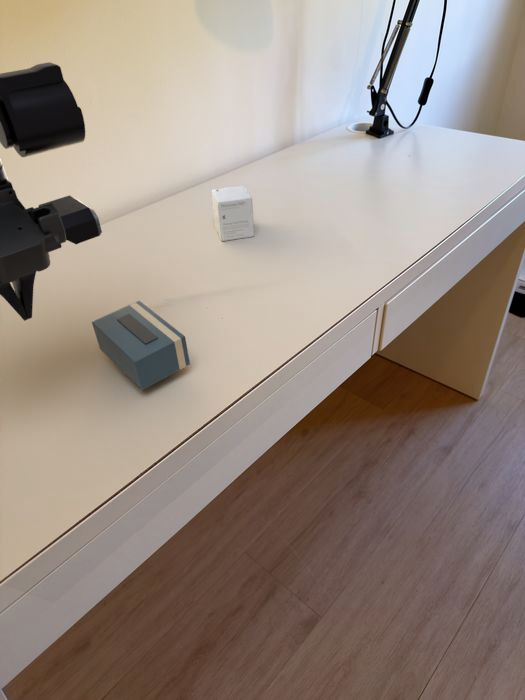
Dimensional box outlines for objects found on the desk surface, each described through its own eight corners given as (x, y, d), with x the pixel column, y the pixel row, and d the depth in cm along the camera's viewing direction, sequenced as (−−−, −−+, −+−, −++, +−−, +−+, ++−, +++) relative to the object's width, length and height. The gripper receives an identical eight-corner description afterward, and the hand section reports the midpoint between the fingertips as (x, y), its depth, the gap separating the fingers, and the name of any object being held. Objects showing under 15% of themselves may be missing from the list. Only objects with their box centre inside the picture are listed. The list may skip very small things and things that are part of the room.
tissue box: (142, 390, 63) (190, 364, 67) (134, 361, 60) (185, 335, 64) (99, 349, 70) (145, 327, 73) (91, 320, 67) (138, 299, 70)
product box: (221, 242, 92) (216, 202, 87) (215, 227, 97) (210, 188, 92) (255, 237, 93) (252, 197, 88) (247, 222, 98) (245, 184, 93)
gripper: (-137, 237, 36) (-43, 400, 46) (109, 164, 45) (143, 313, 55) (-163, 192, 43) (-77, 343, 53) (55, 137, 52) (94, 274, 62)
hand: (26, 317), depth 55 cm, fingers closed
